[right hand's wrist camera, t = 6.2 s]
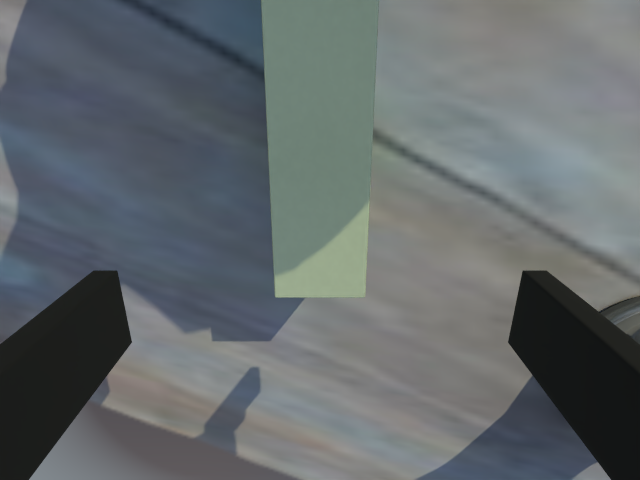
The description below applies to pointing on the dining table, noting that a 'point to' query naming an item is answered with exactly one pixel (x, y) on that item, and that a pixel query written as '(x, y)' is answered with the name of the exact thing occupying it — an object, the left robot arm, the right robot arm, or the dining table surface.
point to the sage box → (319, 142)
